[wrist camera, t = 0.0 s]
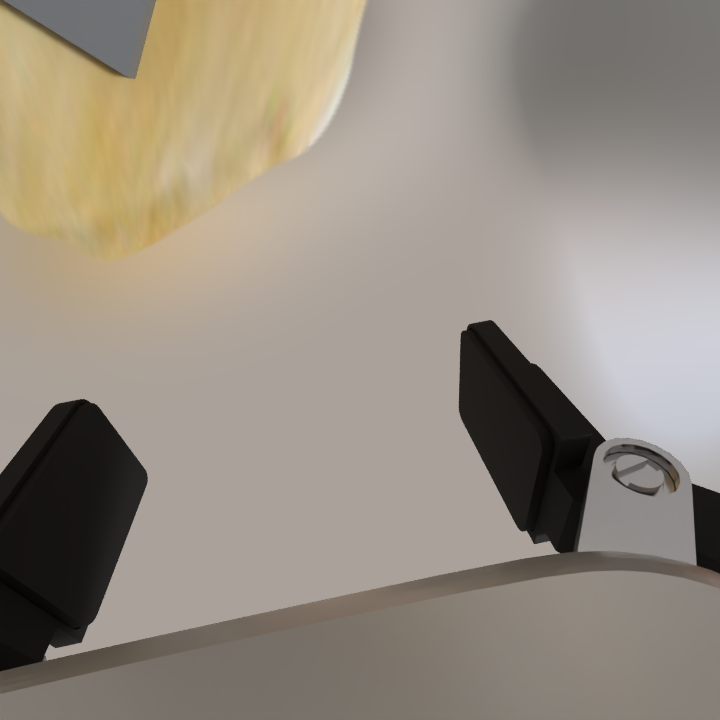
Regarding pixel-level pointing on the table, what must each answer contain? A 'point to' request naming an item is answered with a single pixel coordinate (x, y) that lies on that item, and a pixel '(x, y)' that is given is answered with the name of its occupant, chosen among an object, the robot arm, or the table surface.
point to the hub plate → (97, 27)
